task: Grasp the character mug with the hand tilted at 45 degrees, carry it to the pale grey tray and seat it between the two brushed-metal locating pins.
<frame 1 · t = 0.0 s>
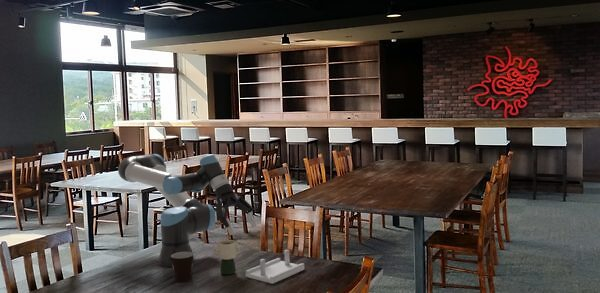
hand: (244, 230, 223), 15 cm above the table, tool tilted 35°, fingers open, 13 cm apart
character mug: (228, 273, 215), on the table
coffee mug: (185, 278, 210), on the table
tray: (275, 273, 214), on the table
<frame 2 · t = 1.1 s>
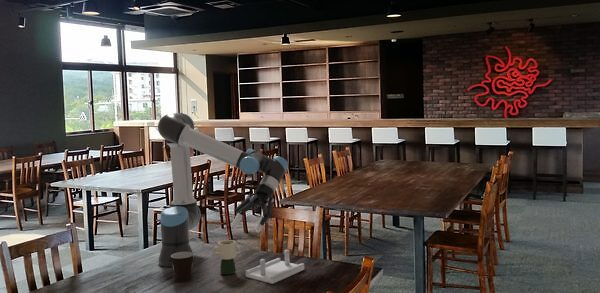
hand: (244, 229, 222), 16 cm above the table, tool tilted 45°, fingers open, 13 cm apart
nothing on the table moved.
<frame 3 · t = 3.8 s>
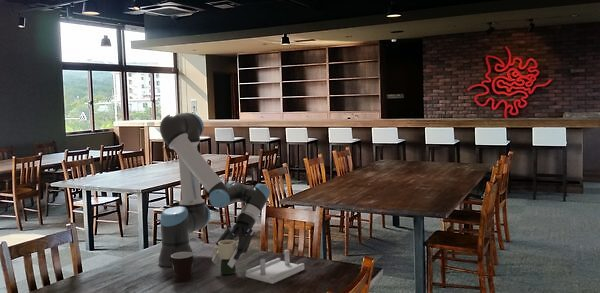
hand: (221, 264, 212), 5 cm above the table, tool tilted 45°, fingers closed on character mug, 8 cm apart
character mug: (228, 273, 215), on the table, touching gripper
everything else where it was.
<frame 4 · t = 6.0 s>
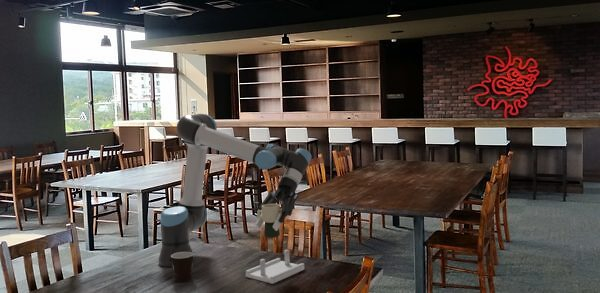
hand: (266, 227, 209), 20 cm above the table, tool tilted 45°, fingers closed on character mug, 8 cm apart
character mug: (272, 237, 212), point 15 cm above the table, touching gripper
everything else where it was.
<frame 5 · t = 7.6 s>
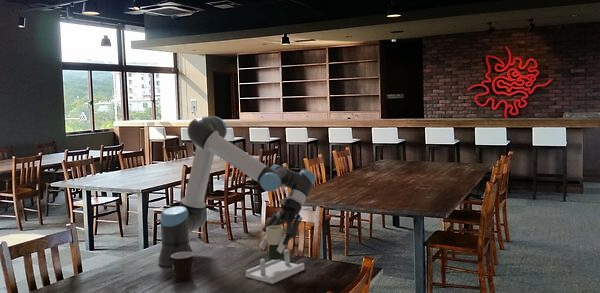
hand: (270, 249, 210), 10 cm above the table, tool tilted 45°, fingers closed on character mug, 8 cm apart
character mug: (276, 259, 213), point 6 cm above the table, touching gripper
everything else where it was.
when the fingers open (8 cm above the table, at t = 8.6 s): character mug drops 1 cm, resting on tray.
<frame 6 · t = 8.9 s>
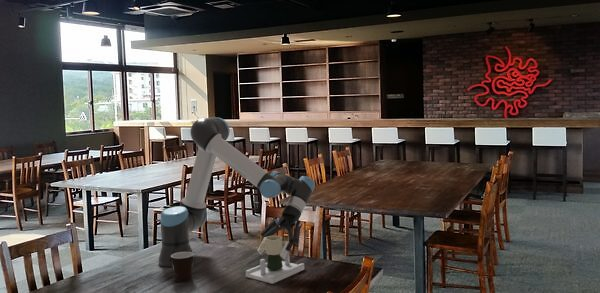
hand: (270, 254, 211), 8 cm above the table, tool tilted 45°, fingers open, 11 cm apart
character mug: (274, 269, 214), point 1 cm above the table, touching tray
everything else where it was.
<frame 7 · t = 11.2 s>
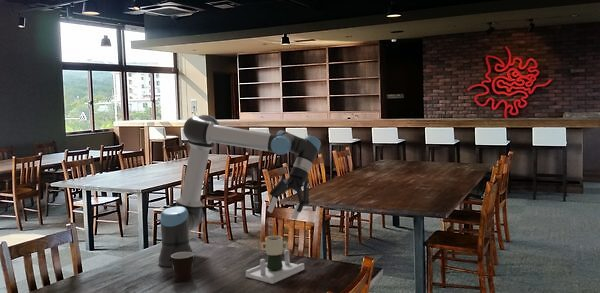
hand: (281, 215, 222), 22 cm above the table, tool tilted 35°, fingers open, 13 cm apart
nothing on the table moved.
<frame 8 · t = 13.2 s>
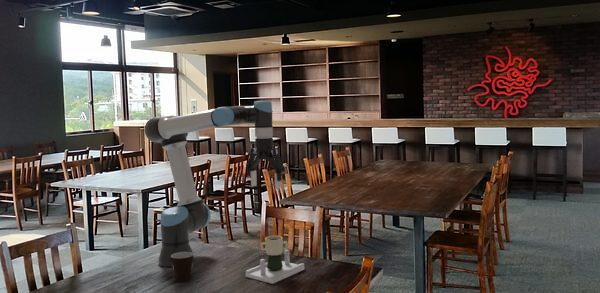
hand: (265, 187, 225), 33 cm above the table, tool pointing down, fingers open, 13 cm apart
nothing on the table moved.
at the end: character mug inside the target area on the tray (0.3 cm from its centre), point 1.3 cm above the tray's base; character mug tilted 0°; the gripper is holding nothing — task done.
